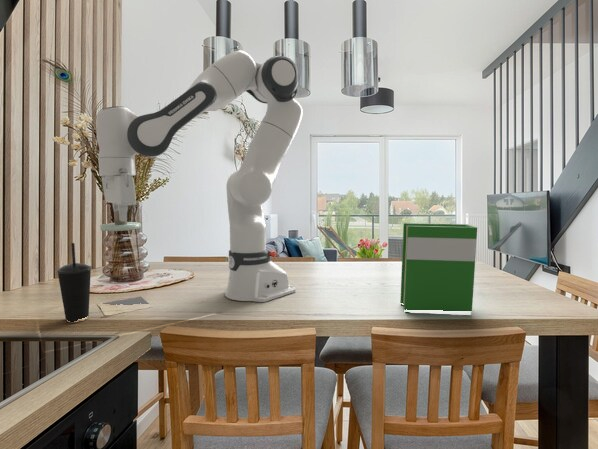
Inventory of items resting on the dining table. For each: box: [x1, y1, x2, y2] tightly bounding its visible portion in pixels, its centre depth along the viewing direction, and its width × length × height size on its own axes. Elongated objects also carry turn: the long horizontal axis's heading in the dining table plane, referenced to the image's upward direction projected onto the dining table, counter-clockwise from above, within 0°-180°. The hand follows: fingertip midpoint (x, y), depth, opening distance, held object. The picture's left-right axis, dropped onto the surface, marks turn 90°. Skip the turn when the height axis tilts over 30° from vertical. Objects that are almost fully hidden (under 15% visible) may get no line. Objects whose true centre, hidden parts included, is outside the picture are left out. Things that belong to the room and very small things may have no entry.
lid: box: [99, 211, 142, 232], centre depth 103 cm, size 10×10×5 cm
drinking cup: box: [55, 242, 93, 322], centre depth 94 cm, size 8×8×20 cm
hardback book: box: [399, 222, 478, 312], centre depth 104 cm, size 18×7×24 cm, turn 84°
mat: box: [102, 296, 150, 305], centre depth 106 cm, size 12×12×1 cm
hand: (121, 220), depth 103 cm, fingers closed on lid, 3 cm apart
